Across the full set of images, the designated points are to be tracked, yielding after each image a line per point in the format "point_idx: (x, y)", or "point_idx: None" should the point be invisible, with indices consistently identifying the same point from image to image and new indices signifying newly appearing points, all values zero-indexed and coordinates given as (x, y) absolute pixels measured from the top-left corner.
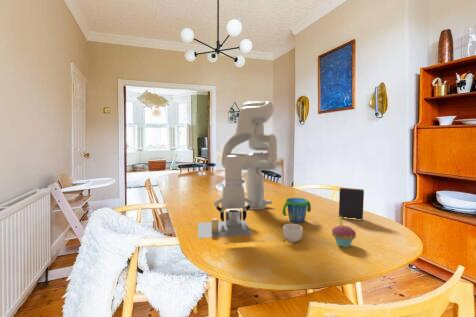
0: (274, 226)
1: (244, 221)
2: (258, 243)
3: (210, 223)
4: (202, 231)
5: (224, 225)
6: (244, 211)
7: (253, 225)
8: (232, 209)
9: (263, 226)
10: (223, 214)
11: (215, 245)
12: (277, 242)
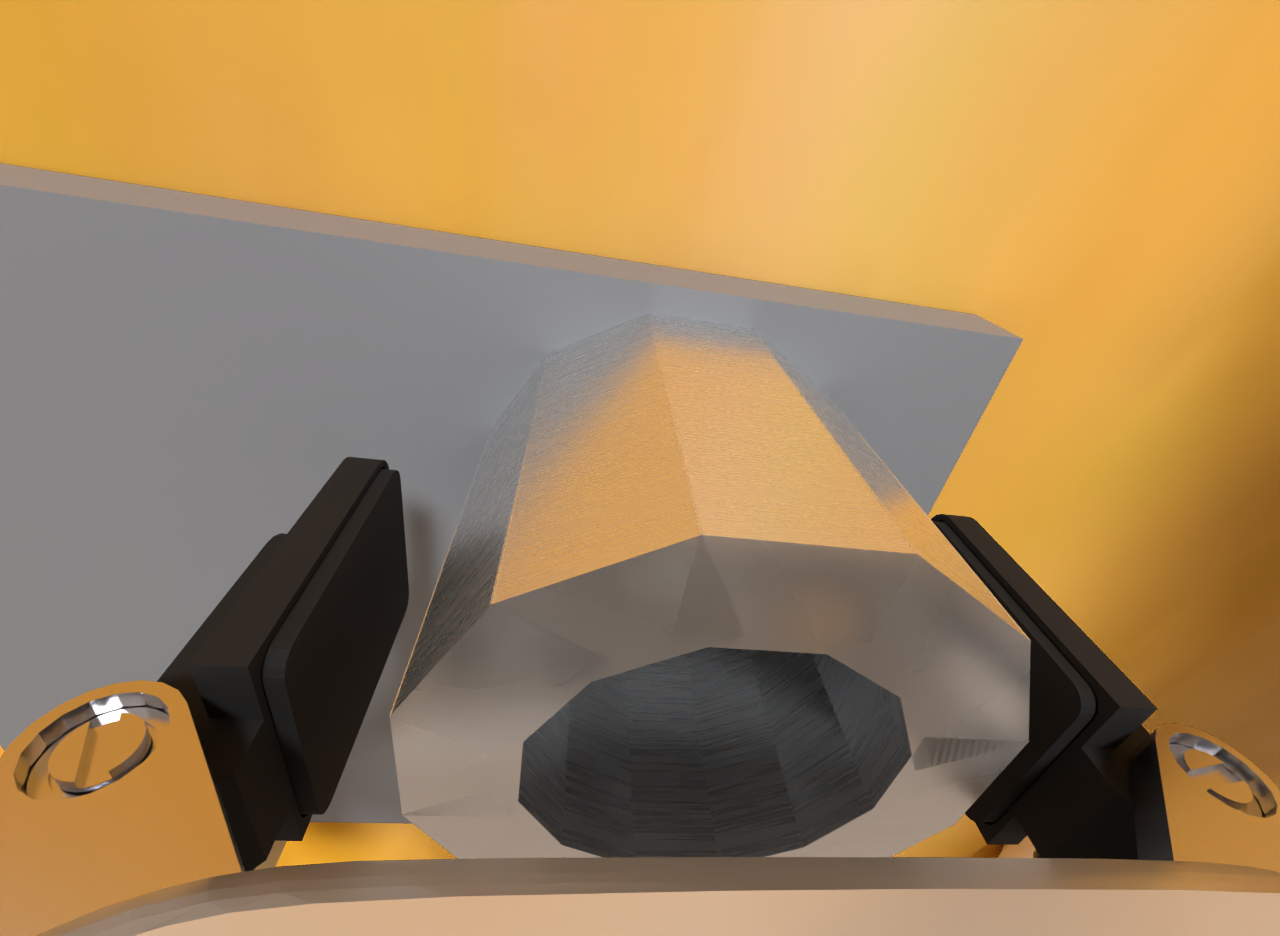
0: (1276, 565)
1: (968, 396)
2: None
3: (55, 301)
4: (33, 672)
5: (452, 513)
6: (1039, 818)
7: (1047, 451)
8: (771, 606)
9: (1145, 530)
10: (326, 777)
11: (330, 837)
12: (904, 852)
